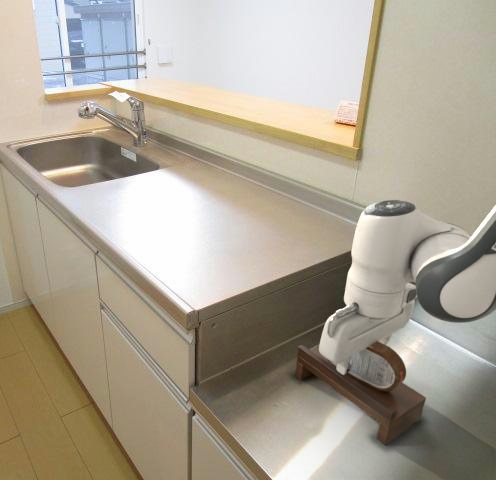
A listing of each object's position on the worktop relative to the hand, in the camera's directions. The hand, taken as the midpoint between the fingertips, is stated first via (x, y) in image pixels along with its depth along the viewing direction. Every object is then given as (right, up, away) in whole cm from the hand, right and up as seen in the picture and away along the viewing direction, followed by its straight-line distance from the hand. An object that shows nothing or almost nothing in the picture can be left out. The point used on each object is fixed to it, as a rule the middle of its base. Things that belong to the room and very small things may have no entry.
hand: (360, 361), depth 81 cm
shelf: (0, -7, +3) cm, 8 cm away
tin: (0, -3, +1) cm, 3 cm away
